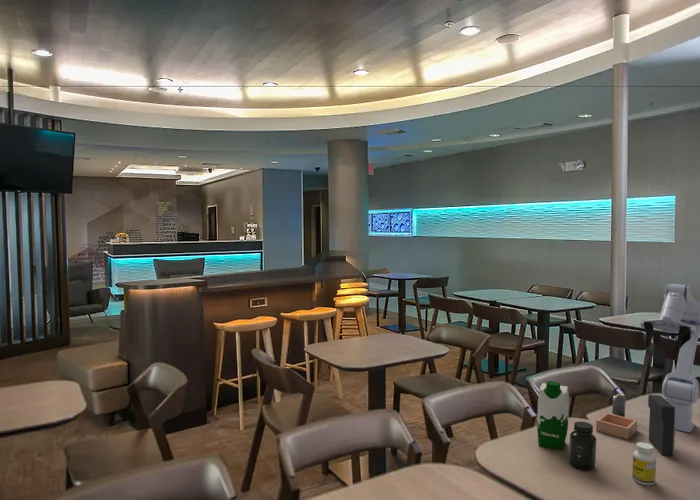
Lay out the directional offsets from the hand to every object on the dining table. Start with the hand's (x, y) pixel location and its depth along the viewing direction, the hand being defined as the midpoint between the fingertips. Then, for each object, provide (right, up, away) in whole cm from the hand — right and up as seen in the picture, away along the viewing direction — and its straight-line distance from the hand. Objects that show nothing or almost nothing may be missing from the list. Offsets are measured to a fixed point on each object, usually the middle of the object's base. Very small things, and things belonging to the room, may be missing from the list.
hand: (661, 347), depth 153 cm
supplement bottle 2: (-14, -33, -16) cm, 39 cm away
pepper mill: (+2, -31, +28) cm, 42 cm away
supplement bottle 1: (-27, -33, -7) cm, 43 cm away
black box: (+2, -32, +5) cm, 33 cm away
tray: (-4, -31, +18) cm, 36 cm away
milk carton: (-30, -32, +7) cm, 44 cm away
